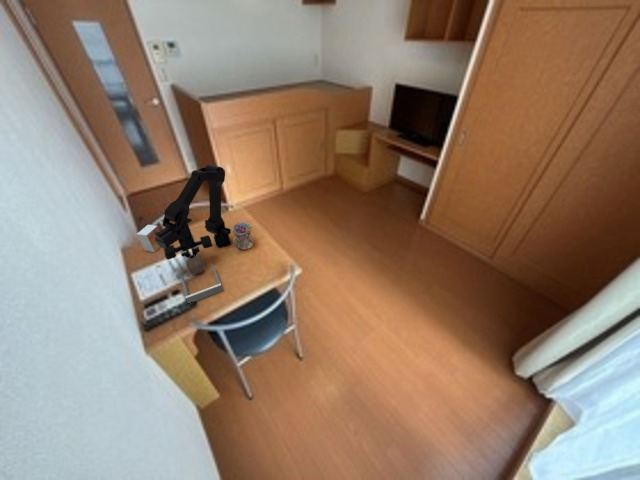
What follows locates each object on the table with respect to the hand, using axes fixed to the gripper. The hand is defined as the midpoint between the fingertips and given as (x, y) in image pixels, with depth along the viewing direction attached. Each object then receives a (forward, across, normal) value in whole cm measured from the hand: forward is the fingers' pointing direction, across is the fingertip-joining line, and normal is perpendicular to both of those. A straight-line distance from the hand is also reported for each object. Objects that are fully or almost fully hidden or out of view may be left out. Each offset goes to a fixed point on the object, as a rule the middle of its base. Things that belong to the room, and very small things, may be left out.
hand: (194, 260), depth 121 cm
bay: (+2, 0, +15) cm, 15 cm away
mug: (+2, -23, -2) cm, 23 cm away
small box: (+4, +15, -23) cm, 28 cm away
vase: (+2, 0, +5) cm, 5 cm away
